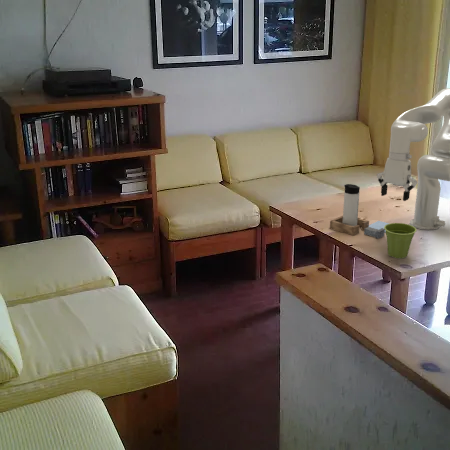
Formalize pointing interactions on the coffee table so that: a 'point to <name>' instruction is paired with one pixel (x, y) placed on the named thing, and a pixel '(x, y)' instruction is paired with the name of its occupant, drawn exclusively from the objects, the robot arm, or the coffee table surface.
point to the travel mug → (351, 204)
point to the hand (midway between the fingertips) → (394, 197)
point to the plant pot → (399, 239)
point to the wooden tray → (348, 226)
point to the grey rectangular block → (374, 232)
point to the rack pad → (378, 225)
